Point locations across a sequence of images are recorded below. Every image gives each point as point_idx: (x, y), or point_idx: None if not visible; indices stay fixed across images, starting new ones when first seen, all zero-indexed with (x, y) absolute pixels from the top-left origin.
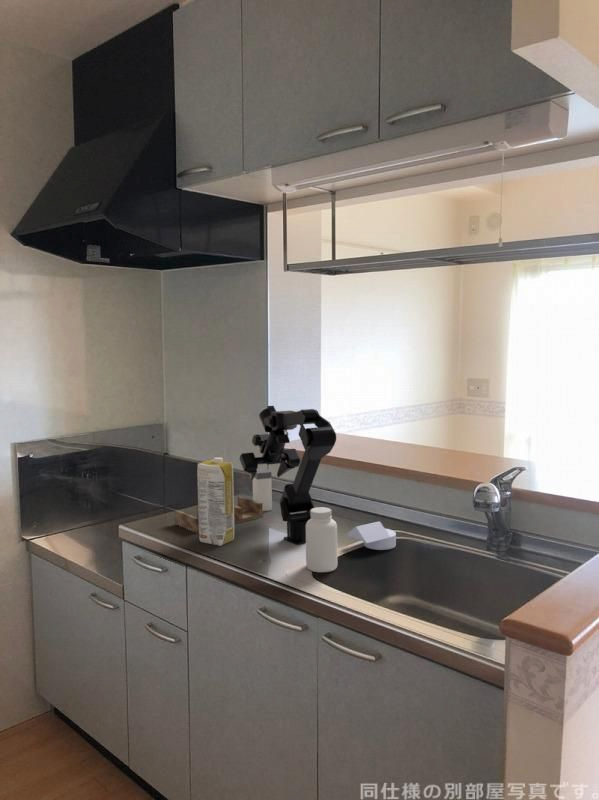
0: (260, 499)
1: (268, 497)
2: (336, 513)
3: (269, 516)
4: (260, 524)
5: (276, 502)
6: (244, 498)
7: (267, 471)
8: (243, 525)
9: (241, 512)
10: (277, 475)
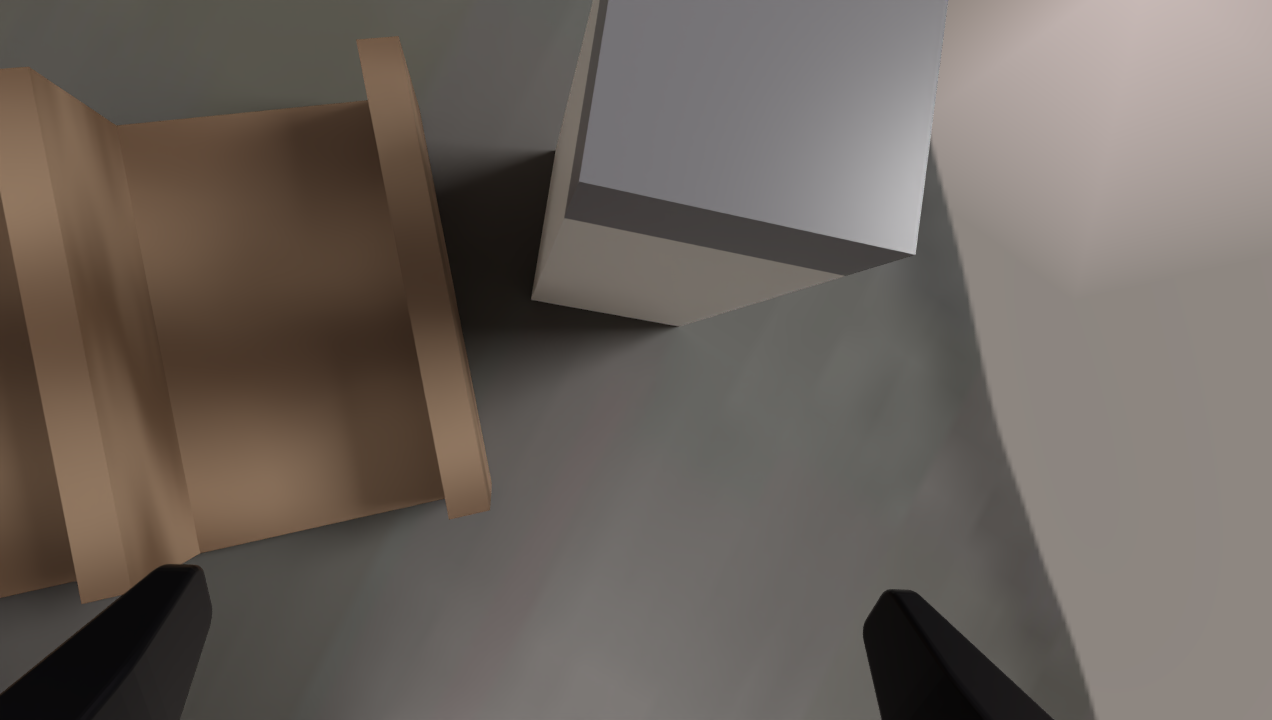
0: (578, 287)
1: (683, 304)
2: (1091, 711)
3: (560, 501)
4: (346, 714)
5: None
6: (395, 174)
7: (874, 143)
8: None
9: None
10: (882, 617)
